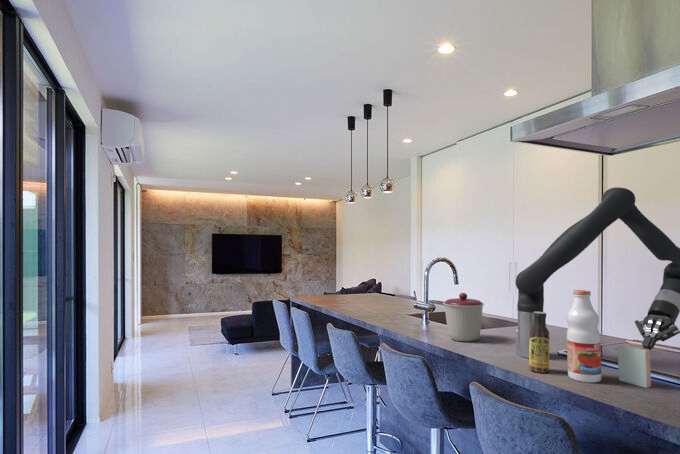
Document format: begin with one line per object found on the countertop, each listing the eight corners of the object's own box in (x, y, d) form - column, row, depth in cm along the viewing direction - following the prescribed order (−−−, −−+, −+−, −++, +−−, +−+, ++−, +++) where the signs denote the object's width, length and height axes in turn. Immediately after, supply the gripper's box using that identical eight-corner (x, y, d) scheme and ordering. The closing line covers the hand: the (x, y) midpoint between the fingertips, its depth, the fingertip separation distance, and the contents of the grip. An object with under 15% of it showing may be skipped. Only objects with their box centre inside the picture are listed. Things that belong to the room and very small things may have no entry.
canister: (490, 338, 194) (489, 292, 195) (475, 346, 180) (474, 296, 181) (453, 333, 205) (452, 290, 206) (436, 340, 191) (436, 293, 192)
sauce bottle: (529, 372, 142) (528, 313, 143) (528, 367, 148) (527, 310, 149) (551, 374, 140) (549, 314, 141) (549, 369, 146) (547, 311, 146)
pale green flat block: (618, 380, 134) (617, 345, 134) (623, 379, 135) (622, 344, 135) (646, 387, 126) (644, 350, 127) (651, 386, 128) (649, 349, 128)
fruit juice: (583, 372, 141) (580, 288, 143) (609, 381, 132) (605, 291, 134) (561, 375, 139) (558, 289, 140) (585, 384, 130) (582, 292, 131)
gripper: (639, 297, 145) (619, 336, 139) (684, 301, 133) (664, 345, 127) (649, 311, 147) (629, 351, 141) (694, 316, 135) (675, 360, 129)
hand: (646, 348), depth 134 cm, fingers closed
